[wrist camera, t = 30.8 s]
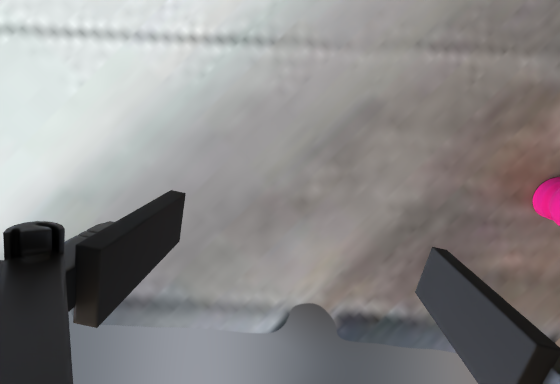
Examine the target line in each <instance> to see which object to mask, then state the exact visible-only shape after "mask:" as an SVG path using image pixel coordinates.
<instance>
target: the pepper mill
mask: <svg viewBox="0 0 560 384" xmlns="http://www.w3.org/2000/svg"><path fill="white" fill-rule="evenodd" d="M533 207H534V209H535V211H536V212H537V213H538V214H539V215H541V216H543V217H545V218H548V219H551V220H553V221H555V222H556V224H557V225H559V226H560V177H556V178H552V179H549V180H547V181H545V182H544V183H543V184H541V185H540V186H539V187H538V188H537V190H536V191H535V193H534V196H533Z"/></svg>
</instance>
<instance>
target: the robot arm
mask: <svg viewBox="0 0 560 384" xmlns="http://www.w3.org/2000/svg"><path fill="white" fill-rule="evenodd" d="M184 201H185V193H182V192H177V191H172V190H171V191H169V192H167V193H165V194H164V195H162V196H160V197H158V198H157V199H155V200H153V201H151V202H150V203H148V204H146V205H144V206H143V207H141V208H139V209H137V210H136V211H134V212H132V213H130V214H129V215H127V216H125V217H123V218H122V219H120V220H118V221H116V222H111V221H110V222H106V223H102V224H98V225H96V226H94V227H92V228H90V229H88V230H87V231H84V232H82V233H81V234H79V235H78V236H75V237H73V238H71V239H69V240H67V241H65V242H64V234H65V229H64V227H63V226H62V225H60V224H57V223H53V222H40V221H36V222H27V223H22V224H18V225H14V226H12V227H10V228H8V229H6V230H5V232H4V233H3V236H4V258H5V260H4V261H3V260H0V384H73V376H72V363H71V347H70V332H69V318H68V312H69V311H70V310H71V309H72V308H73V307H74V321H73V322H74V323H77V324H81V325H86V326H91V327H96V328H97V327H98V326H99V325H100V324H101V323H102V322H103V321H104V320H105V319H106V318H107V317H108V316H109V315H110V314H111V313H112V312H113V310H114V309H115V308H116V307H117V306H118V305H119V304H120V303H121V302H122V301H123V300H124V299H125V298H126V297H127V296H128V295H129V294H130V293H131V292H132V290H133V289H134V288H135V287H136V286H137V285H138V284H139V283H140V282H141V281H142V280H143V279H144V278H145V277H146V276H147V275H148V274H149V273H150V272H151V271H152V269H153V268H154V267H155V266H156V265H157V264H158V263H159V262H160V261H161V260H162V259H163V258H164V257H165V256H166V255H167V254H168V253H169V252H170V251H171V249H172V248H173V247H174V246H175V245H176V244H177V243H178V242H179V240H180V232H181V224H182V217H183V209H184ZM415 293H416V294H417V296H418V297H419V299H420V300H421V302H422V303H423V304H424V306H425V307H426V309H427V310H428V312H429V313H430V315H431V316H432V318H433V319H434V320H435V322H436V323H437V325H438V326H439V328H440V329H441V331H442V332H443V333H444V335H445V336H446V338H447V339H448V341H449V342H450V344H451V345H452V346H453V348H454V349H455V351H456V352H457V354H458V355H459V357H460V358H461V359H462V361H463V362H464V364H465V365H466V367H467V368H468V370H469V371H470V372H471V374H472V375H473V377H474V378H475V380H476V381H477V382H478V384H560V347H558V346H557V345H556V344H555V343H554V342H553V341H551V340H550V339H549V338H548V337H547V336H546V335H545V334H543V333H542V332H541V331H540V330H539V329H538V328H536V327H535V326H534V325H533V324H532V323H531V322H529V321H528V320H527V319H526V318H525V317H524V316H523V315H521V314H520V313H519V312H518V311H517V310H516V309H514V308H513V307H512V306H511V305H510V304H509V303H507V302H506V301H505V300H504V299H503V298H502V297H501V296H499V295H498V294H497V293H496V292H495V291H494V290H492V289H491V288H490V287H489V286H488V285H487V284H485V283H484V282H483V281H482V280H481V279H480V278H479V277H477V276H476V275H475V274H474V273H473V272H472V271H470V270H469V269H468V268H467V267H466V266H465V265H463V264H462V263H461V262H460V261H459V260H458V259H457V258H455V257H454V256H453V255H452V254H451V253H450V252H448V251H447V250H444V249H440V248H435V247H432V249H431V252H430V254H429V257H428V260H427V262H426V265H425V267H424V270H423V273H422V275H421V278H420V281H419V283H418V286H417V289H416V291H415Z"/></svg>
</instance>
